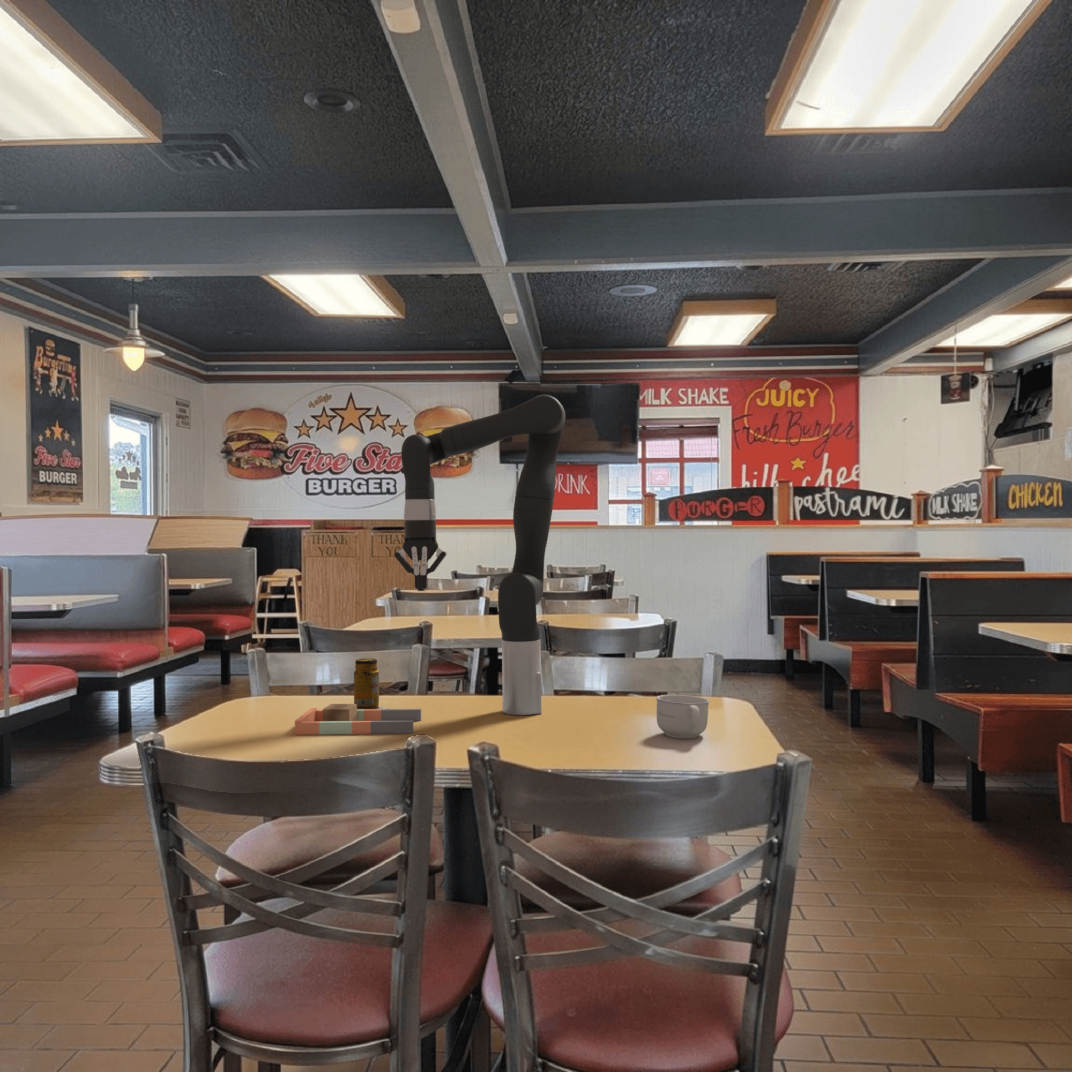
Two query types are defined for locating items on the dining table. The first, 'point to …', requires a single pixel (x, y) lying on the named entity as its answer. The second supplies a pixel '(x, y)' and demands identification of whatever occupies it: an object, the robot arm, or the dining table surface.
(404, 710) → the tray
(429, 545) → the robot arm
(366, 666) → the condiment
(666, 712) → the teacup
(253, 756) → the dining table surface
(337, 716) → the block
